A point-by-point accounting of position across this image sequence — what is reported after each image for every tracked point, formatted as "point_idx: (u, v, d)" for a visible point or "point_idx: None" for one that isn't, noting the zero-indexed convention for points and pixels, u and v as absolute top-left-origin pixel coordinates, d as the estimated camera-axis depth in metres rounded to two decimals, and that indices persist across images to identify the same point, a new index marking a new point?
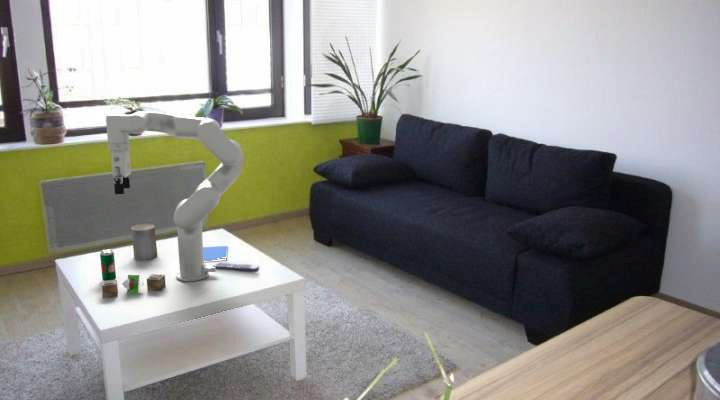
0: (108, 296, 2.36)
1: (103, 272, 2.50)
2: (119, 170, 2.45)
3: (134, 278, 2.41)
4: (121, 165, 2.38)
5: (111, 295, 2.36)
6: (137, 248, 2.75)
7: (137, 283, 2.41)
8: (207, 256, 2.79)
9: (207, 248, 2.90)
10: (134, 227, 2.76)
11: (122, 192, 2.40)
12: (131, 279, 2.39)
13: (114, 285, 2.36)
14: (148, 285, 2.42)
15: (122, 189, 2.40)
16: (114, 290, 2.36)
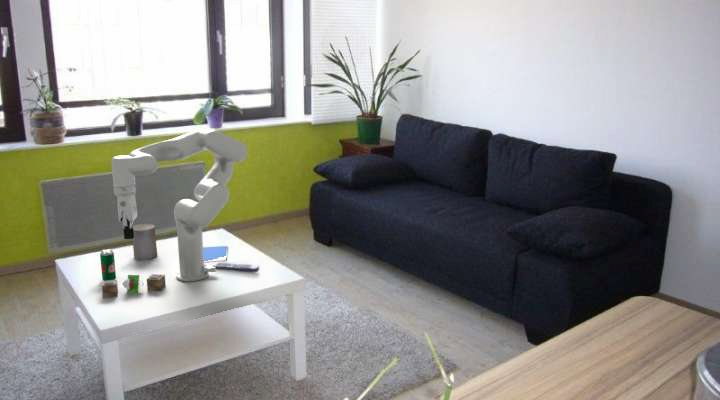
0: (108, 296, 2.36)
1: (103, 272, 2.50)
2: None
3: (134, 278, 2.41)
4: (128, 210, 2.29)
5: (111, 295, 2.36)
6: (137, 248, 2.75)
7: (137, 283, 2.41)
8: (207, 257, 2.79)
9: (207, 248, 2.90)
10: (134, 227, 2.76)
11: (131, 237, 2.35)
12: (131, 279, 2.39)
13: (114, 285, 2.35)
14: (148, 285, 2.42)
15: (131, 234, 2.35)
16: (114, 290, 2.36)
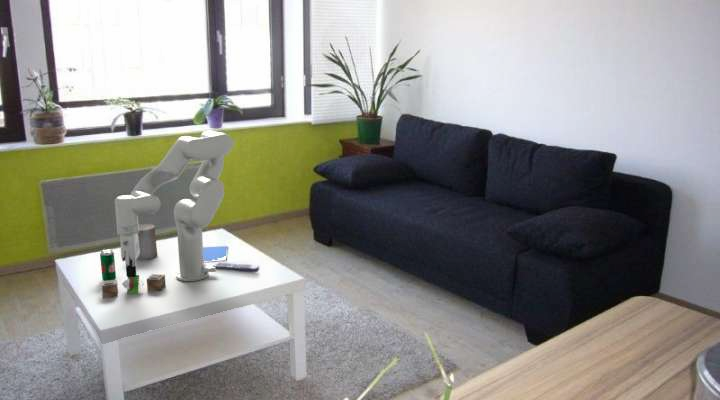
0: (108, 296, 2.36)
1: (103, 272, 2.50)
2: None
3: (134, 278, 2.41)
4: (130, 249, 2.32)
5: (111, 295, 2.36)
6: None
7: (137, 283, 2.41)
8: (207, 257, 2.79)
9: (207, 248, 2.90)
10: None
11: (134, 275, 2.39)
12: (131, 279, 2.39)
13: (114, 285, 2.36)
14: (148, 285, 2.42)
15: (134, 272, 2.39)
16: (114, 290, 2.36)
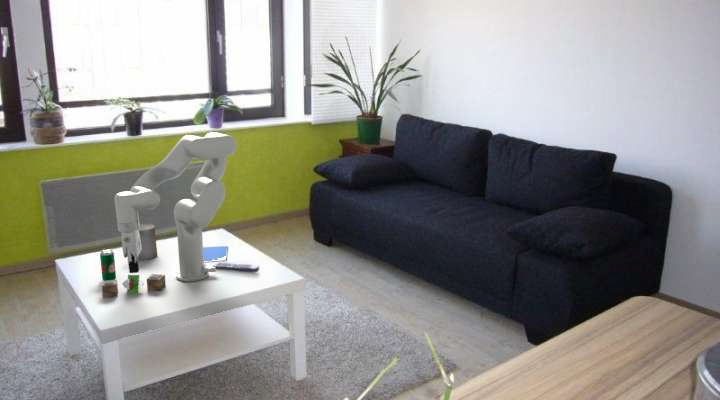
0: (108, 296, 2.36)
1: (103, 272, 2.50)
2: None
3: (134, 278, 2.41)
4: (132, 245, 2.32)
5: (111, 295, 2.36)
6: None
7: (137, 283, 2.41)
8: (207, 257, 2.79)
9: (207, 248, 2.90)
10: None
11: (136, 271, 2.39)
12: (131, 279, 2.39)
13: (114, 285, 2.36)
14: (148, 285, 2.42)
15: (136, 268, 2.39)
16: (114, 290, 2.36)
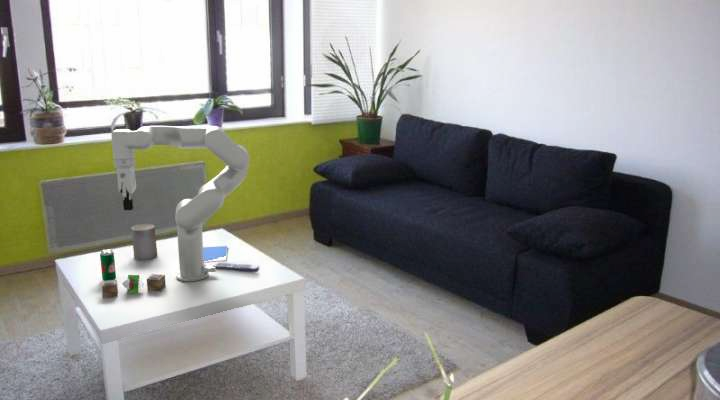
0: (108, 296, 2.36)
1: (103, 272, 2.50)
2: None
3: (134, 278, 2.41)
4: (127, 181, 2.38)
5: (111, 295, 2.36)
6: (137, 248, 2.75)
7: (137, 283, 2.41)
8: (207, 257, 2.79)
9: (207, 248, 2.90)
10: (134, 227, 2.76)
11: (131, 208, 2.45)
12: (131, 279, 2.39)
13: (114, 285, 2.35)
14: (148, 285, 2.42)
15: (131, 205, 2.44)
16: (114, 290, 2.36)
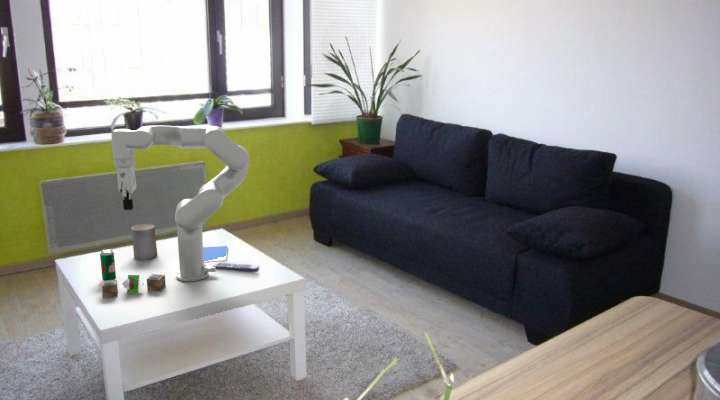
0: (108, 296, 2.36)
1: (103, 272, 2.50)
2: None
3: (134, 278, 2.41)
4: (127, 181, 2.38)
5: (111, 295, 2.36)
6: (137, 248, 2.75)
7: (137, 283, 2.41)
8: (207, 257, 2.79)
9: (207, 248, 2.90)
10: (134, 227, 2.76)
11: (131, 208, 2.45)
12: (131, 279, 2.39)
13: (114, 285, 2.35)
14: (148, 285, 2.42)
15: (131, 205, 2.45)
16: (114, 290, 2.36)
